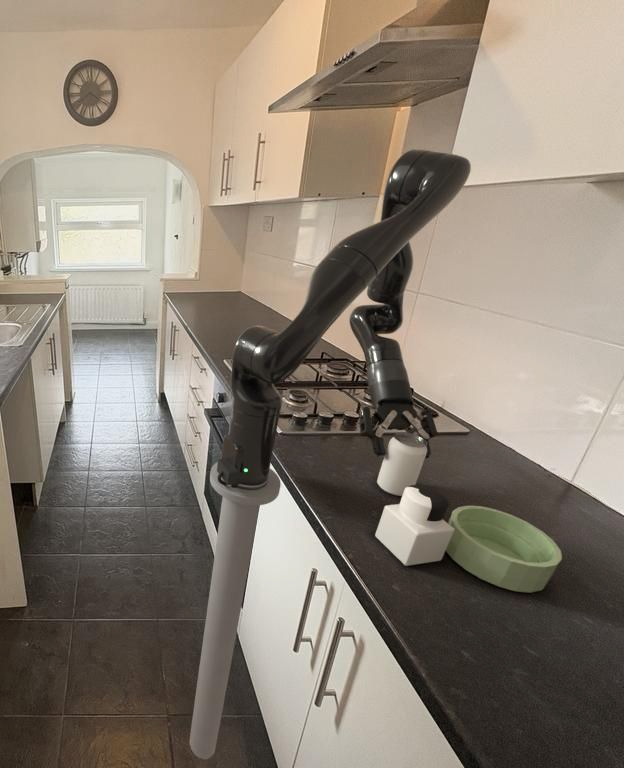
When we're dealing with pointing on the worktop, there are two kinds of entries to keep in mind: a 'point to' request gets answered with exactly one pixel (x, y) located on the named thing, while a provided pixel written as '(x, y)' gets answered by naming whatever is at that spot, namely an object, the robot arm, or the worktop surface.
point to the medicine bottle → (416, 526)
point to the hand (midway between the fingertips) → (403, 457)
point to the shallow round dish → (502, 549)
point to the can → (402, 463)
